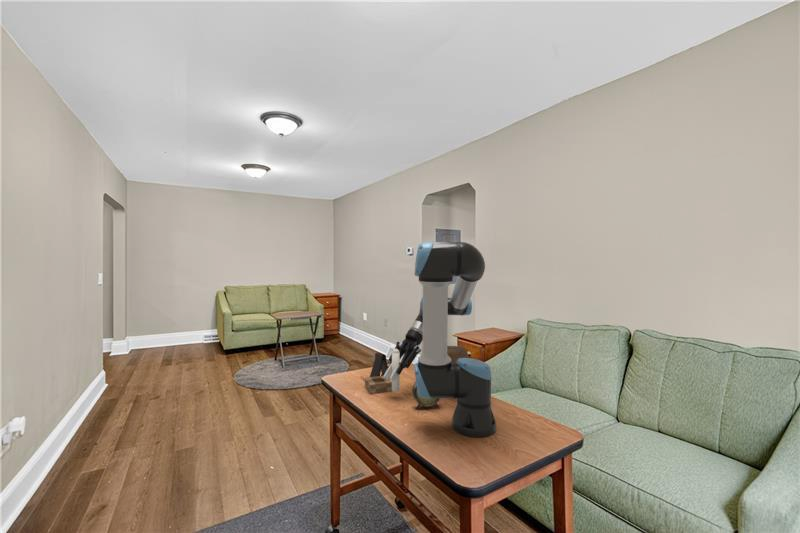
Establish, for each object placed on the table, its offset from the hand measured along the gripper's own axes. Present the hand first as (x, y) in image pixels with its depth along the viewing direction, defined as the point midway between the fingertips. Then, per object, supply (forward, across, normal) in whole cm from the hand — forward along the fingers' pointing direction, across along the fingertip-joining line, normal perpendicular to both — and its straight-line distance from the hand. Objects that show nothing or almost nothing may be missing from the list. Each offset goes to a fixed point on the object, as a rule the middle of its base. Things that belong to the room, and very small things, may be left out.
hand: (388, 378), depth 149 cm
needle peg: (+1, 0, -7) cm, 7 cm away
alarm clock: (+2, -15, -12) cm, 19 cm away
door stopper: (-5, +24, -18) cm, 30 cm away
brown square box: (+2, +13, -10) cm, 17 cm away
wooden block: (-12, -14, -25) cm, 31 cm away
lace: (+1, +26, -12) cm, 28 cm away
